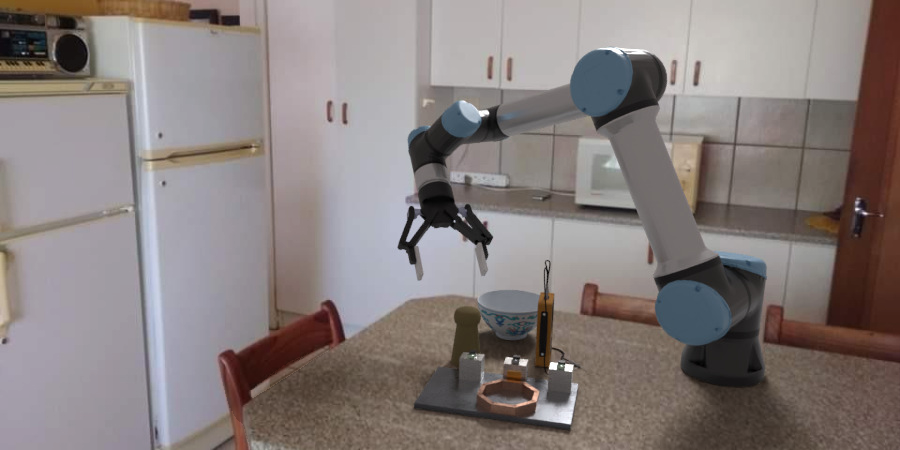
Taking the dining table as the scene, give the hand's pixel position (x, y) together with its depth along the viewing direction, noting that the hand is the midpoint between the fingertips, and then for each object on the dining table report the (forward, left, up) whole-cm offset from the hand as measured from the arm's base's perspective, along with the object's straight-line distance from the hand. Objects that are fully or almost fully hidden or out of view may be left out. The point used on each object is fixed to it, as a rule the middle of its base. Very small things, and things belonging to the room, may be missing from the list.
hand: (453, 275), depth 146 cm
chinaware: (-11, -9, -15) cm, 20 cm away
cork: (-5, +8, -15) cm, 18 cm away
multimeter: (-23, +3, -15) cm, 28 cm away
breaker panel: (-14, +22, -15) cm, 30 cm away
